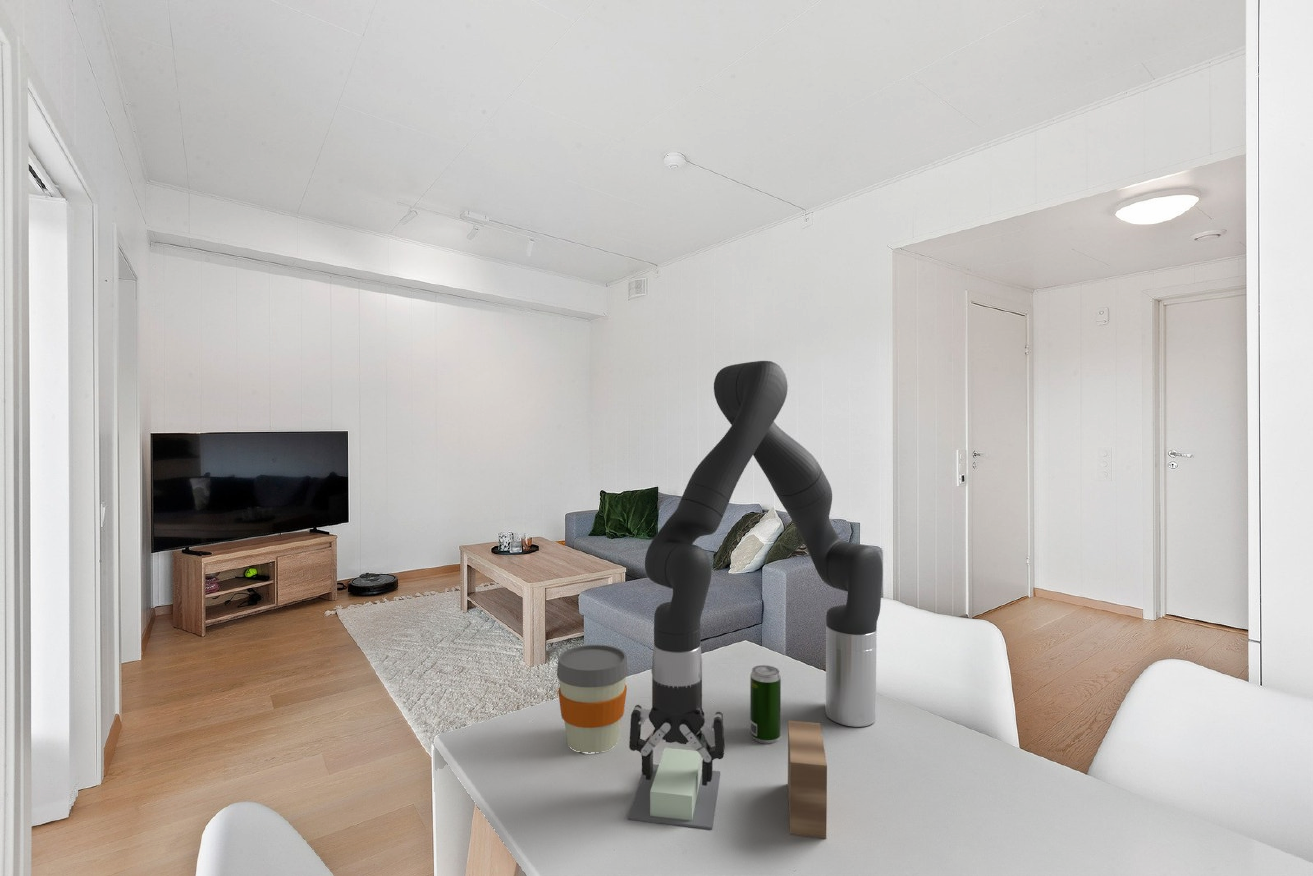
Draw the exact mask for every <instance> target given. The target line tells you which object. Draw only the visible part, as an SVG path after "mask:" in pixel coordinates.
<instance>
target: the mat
mask: <svg viewBox="0 0 1313 876" xmlns="http://www.w3.org/2000/svg"><path fill="white" fill-rule="evenodd" d="M658 767H659V764H654V763H653V774H652V777H651V780H646V775H643V774H642V776H641V779H640V782H639V785H638V787H637V791H636V793H635V797H634V799H633V801H632V805H631V807H630V810H629V812H628V816H627V820H631V821H639V822H646V823H647V822H648V823H654V824H655V823H656V824H663V825H672V826H679V827H680V826H681V827H688V828H694V829H695V828H696V829H704V830H713V827H714V826H713V825H714V819H715V812H716V805H717V797H718V790H719V784H720V778H721V777H720V776H721V771H719V770H713V774H712V779H711V782H707V786H704V785H702V774H701V779H700V784H699V789H698V794H697V799H696V803H695V808H694V813H693V818H692V821H691V820H683V819H675V818H666V817H658V816H650V791H651V788H652V785H653V782H654V779H655V776H656V773H657V770H658Z"/></svg>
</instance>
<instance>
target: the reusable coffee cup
mask: <svg viewBox="0 0 1313 876" xmlns="http://www.w3.org/2000/svg"><path fill="white" fill-rule="evenodd" d="M627 657H628V656H627V653H626V651H624V650H623V649H621V648H619V647H615V646H612V645H609V644H608V645H607V644H606V645H605V644H587V645H586V644H585V645H579V646H575V647H571V648H569V649H567V650H564V651H563V652H561V653H560V654H559V655H558V660H557V669H556V677H557V679H558V681H559V687H558V692H557V693H558V700H559V708H560V714H561V715H560V716H561V719H562V720H563V721H564V727H565V735H566V743H568V744H567V746H568V747H569V746H570V747H571V748H572V749H574V750H576V751H580V752H588V753H591V752H595V753H596V752H602V751H606V750H609V749H611V748H612V747H613V746H615V745H616V746H617V744H618V742H619V737H620V736H619V735H620V727H621V719H622V717H623V716H624V713H625V705H626V699H627V697H626V696H627V689H628V687H627V684H626V679H627V676H628V675H629V666H628V658H627ZM616 743H617V744H616ZM616 746H615V747H616ZM572 749H571V750H572ZM612 749H613V748H612ZM612 749H611V750H612ZM609 751H610V750H609ZM606 752H607V751H606Z"/></svg>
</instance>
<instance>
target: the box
mask: <svg viewBox="0 0 1313 876" xmlns="http://www.w3.org/2000/svg"><path fill="white" fill-rule="evenodd" d="M821 726H822V725H821V723H819V722H811V721H810V722H809V721H800V720H799V721H798V720H788V721H787V728H788V729H787V730H788V731H787V793H788V794H787V797H788V798H787V799H788V814H789V816H788V817H789V819H788V820H789V834H790V835H794V836H795V835H796V836H804V837H811V838H817V839H819V838H820V839H827V817H828V816H827V813H828V811H827V810H828V809H827V804H828V798H827V797H828V795H827V794H828V788H827V787H828V764H827V759H826V758H827V757H826V752H825V745H824V740H823V733H822V727H821Z"/></svg>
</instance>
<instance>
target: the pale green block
mask: <svg viewBox="0 0 1313 876" xmlns="http://www.w3.org/2000/svg"><path fill="white" fill-rule="evenodd" d="M702 761H703V758H702V757H701V755H700V754H699V753H698V751H696V750H689V749H681V748H670V747H664V750H663V753H662V755H661V758H660V760H659V763H658V765H659V767H658V770H657V773H656V776H655V779H654V782H653V785H652V788H651V791H650V816H658V817H666V818H675V819H683V820H691V821H692V818H693V813H694V808H695V803H696V799H697V794H698V789H699V784H700V779H701V774H702Z"/></svg>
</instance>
